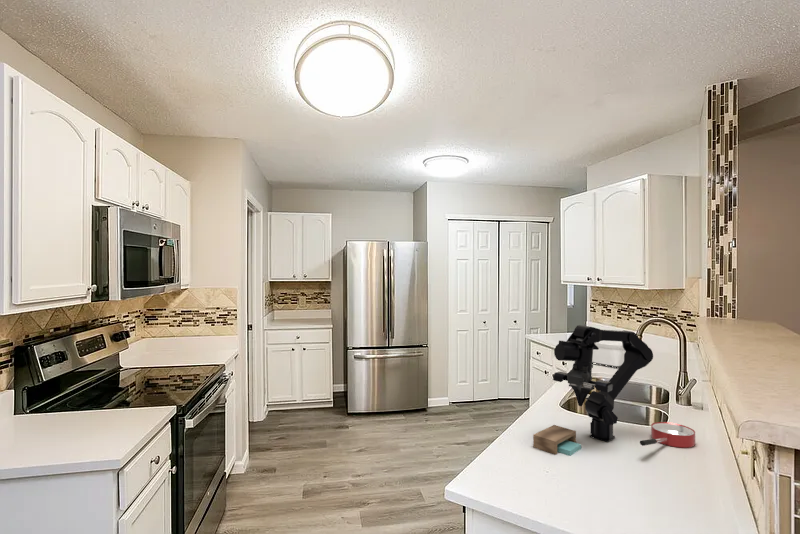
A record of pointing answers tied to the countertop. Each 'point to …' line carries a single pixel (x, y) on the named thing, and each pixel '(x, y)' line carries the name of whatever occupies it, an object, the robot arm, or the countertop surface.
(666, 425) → the frying pan
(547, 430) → the overhang
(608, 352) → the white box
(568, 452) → the teal rectangular slab
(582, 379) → the robot arm
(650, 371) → the countertop surface
